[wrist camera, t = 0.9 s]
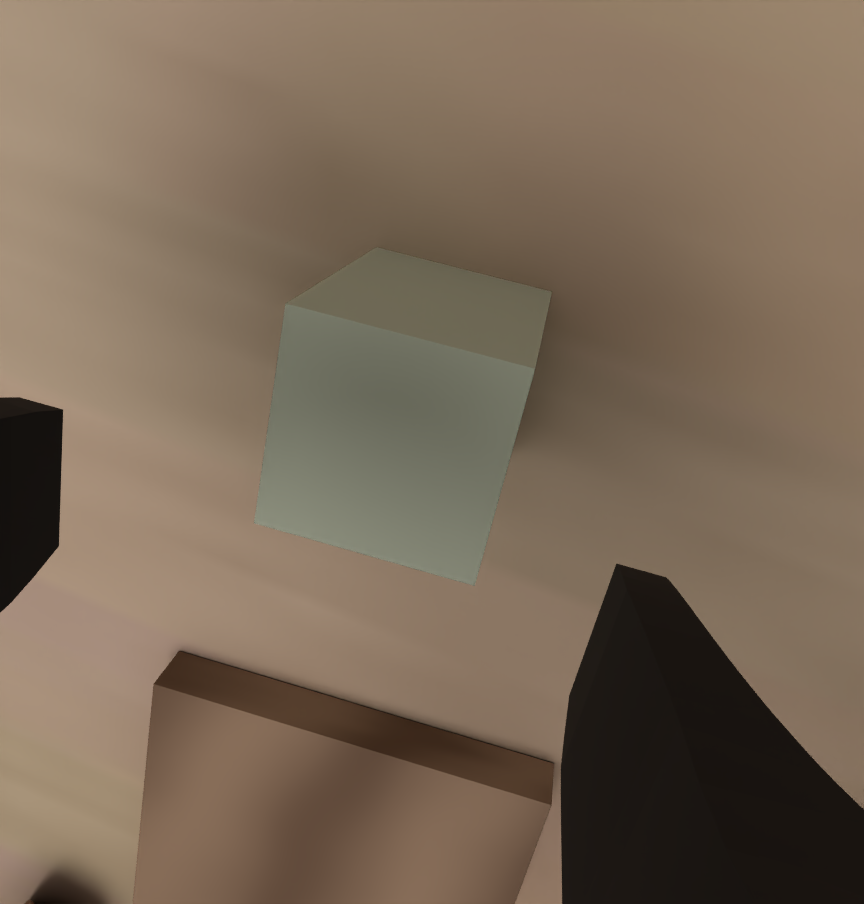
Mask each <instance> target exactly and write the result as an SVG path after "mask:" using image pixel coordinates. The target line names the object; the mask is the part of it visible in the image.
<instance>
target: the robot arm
mask: <svg viewBox="0 0 864 904" xmlns="http://www.w3.org/2000/svg"><path fill="white" fill-rule="evenodd" d="M62 426H63V410H62V409H59V408H55V407H52V406H48V405H44V404H41V403H37V402H34V401H30V400H26V399H23V398H19V397H17V398H0V612H1V611H2V610H4V609H5V608H6V607H7V606H8V605H9V604H10V603H11V602H12V601H13V600H14V599H15V597H16V596H17V595H18V594H19V593H20V592H21V591H22V590H23V588H24V587H25V586H26V585H27V584H28V583H29V582H30V581H31V579H32V578H33V577H34V576H35V575H36V573H37V572H38V571H39V570H40V569H41V567H42V566H43V565H44V564H45V562H46V561H47V560H48V559H49V557H50V556H51V555H52V554H53V553H54V551H55V550H56V549H57V548H58V546H59V522H60V490H61V458H62ZM561 845H562V904H864V810H863V809H862V808H861V807H860V806H859V805H858V804H857V803H856V802H855V801H854V800H853V799H852V798H851V797H850V796H849V795H848V794H847V793H846V792H845V791H844V790H843V789H842V788H841V787H840V786H839V785H838V784H837V783H836V782H835V781H834V780H833V779H832V778H831V777H830V776H829V775H828V774H827V773H826V772H825V771H824V770H823V769H822V768H821V767H820V766H819V765H818V764H817V763H816V761H815V760H814V759H813V758H812V757H811V756H810V755H809V754H808V753H807V752H806V751H805V749H804V748H803V747H802V746H801V745H800V744H799V743H798V742H797V740H796V739H795V738H794V737H793V736H792V735H791V734H790V732H789V731H788V730H787V729H786V728H785V727H784V726H783V725H782V723H781V722H780V721H779V720H778V719H777V718H776V717H775V715H774V714H773V713H772V712H771V711H770V710H769V708H768V707H767V706H766V705H765V704H764V702H763V701H762V700H761V699H760V698H759V696H758V695H757V694H756V693H755V691H754V690H753V689H752V688H751V687H750V685H749V684H748V683H747V682H746V680H745V679H744V678H743V677H742V675H741V674H740V673H739V671H738V670H737V669H736V668H735V666H734V665H733V664H732V662H731V661H730V660H729V659H728V657H727V656H726V655H725V653H724V652H723V651H722V649H721V648H720V647H719V645H718V644H717V643H716V641H715V640H714V639H713V637H712V636H711V635H710V633H709V632H708V631H707V629H706V628H705V627H704V625H703V624H702V623H701V621H700V620H699V619H698V617H697V616H696V615H695V613H694V612H693V610H692V609H691V608H690V606H689V605H688V604H687V602H686V601H685V600H684V598H683V597H682V596H681V594H680V593H679V592H678V591H677V589H676V588H675V587H674V586H673V584H672V583H671V582H670V581H669V580H668V579H667V578H666V577H663V576H659V575H655V574H652V573H648V572H645V571H641V570H637V569H634V568H630V567H627V566H623V565H620V564H616V567H615V569H614V572H613V575H612V578H611V581H610V583H609V586H608V589H607V592H606V595H605V597H604V600H603V603H602V606H601V609H600V611H599V614H598V617H597V620H596V623H595V625H594V628H593V631H592V634H591V637H590V639H589V642H588V645H587V648H586V651H585V653H584V656H583V659H582V662H581V664H580V667H579V670H578V673H577V676H576V678H575V681H574V684H573V687H572V690H571V692H570V695H569V703H568V711H567V719H566V727H565V735H564V744H563V753H562V762H561Z"/></svg>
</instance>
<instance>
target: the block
mask: <svg viewBox="0 0 864 904" xmlns="http://www.w3.org/2000/svg"><path fill="white" fill-rule="evenodd" d="M551 295H552V291H548V290H544V289H540V288H536V287H532V286H528V285H524V284H520V283H516V282H512V281H508V280H504V279H500V278H496V277H492V276H489V275H485V274H481V273H477V272H473V271H469V270H465V269H461V268H457V267H453V266H449V265H445V264H441V263H437V262H433V261H429V260H426V259H422V258H418V257H414V256H410V255H406V254H402V253H398V252H394V251H390V250H386V249H382V248H378V247H376V248H374V249H373V250H371V251H369V252H368V253H366V254H365V255H363V256H361V257H360V258H358V259H357V260H355V261H353V262H352V263H350V264H348V265H347V266H345V267H344V268H342V269H340V270H339V271H337V272H336V273H334V274H332V275H331V276H329V277H327V278H326V279H324V280H323V281H321V282H319V283H318V284H316V285H315V286H313V287H311V288H310V289H308V290H306V291H305V292H303V293H302V294H300V295H298V296H297V297H295V298H294V299H292V300H290V301H289V302H287V303H286V304H285V311H284V318H283V325H282V332H281V339H280V346H279V353H278V360H277V367H276V374H275V381H274V388H273V395H272V402H271V409H270V416H269V423H268V430H267V437H266V443H265V450H264V457H263V464H262V471H261V478H260V485H259V492H258V499H257V506H256V513H255V520H254V523H255V524H259V525H262V526H266V527H269V528H273V529H276V530H280V531H283V532H287V533H290V534H294V535H297V536H301V537H304V538H308V539H311V540H315V541H318V542H322V543H325V544H329V545H332V546H336V547H339V548H343V549H347V550H350V551H354V552H357V553H361V554H364V555H368V556H371V557H375V558H378V559H382V560H385V561H389V562H392V563H396V564H399V565H403V566H406V567H410V568H413V569H417V570H420V571H424V572H427V573H431V574H434V575H438V576H441V577H445V578H448V579H452V580H455V581H459V582H463V583H466V584H470V585H473V586H475V582H476V579H477V575H478V572H479V568H480V564H481V561H482V557H483V554H484V550H485V547H486V543H487V539H488V536H489V532H490V529H491V525H492V522H493V518H494V514H495V511H496V507H497V504H498V500H499V496H500V493H501V489H502V486H503V482H504V479H505V475H506V471H507V468H508V464H509V461H510V457H511V454H512V450H513V446H514V443H515V439H516V436H517V432H518V428H519V425H520V421H521V418H522V414H523V411H524V407H525V403H526V400H527V396H528V393H529V389H530V386H531V382H532V378H533V375H534V371H535V367H536V363H537V358H538V354H539V349H540V345H541V340H542V336H543V331H544V326H545V322H546V317H547V313H548V308H549V304H550V299H551Z"/></svg>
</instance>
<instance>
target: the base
mask: <svg viewBox="0 0 864 904" xmlns="http://www.w3.org/2000/svg"><path fill="white" fill-rule="evenodd" d="M553 770H554V764H553V763H550V762H547V761H543V760H540V759H537V758H533V757H530V756H527V755H523V754H520V753H517V752H513V751H510V750H507V749H503V748H500V747H497V746H493V745H490V744H487V743H483V742H480V741H477V740H473V739H470V738H467V737H463V736H460V735H457V734H453V733H450V732H447V731H443V730H440V729H437V728H433V727H430V726H427V725H423V724H420V723H417V722H414V721H410V720H407V719H404V718H400V717H397V716H394V715H390V714H387V713H384V712H380V711H377V710H374V709H370V708H367V707H364V706H360V705H357V704H354V703H350V702H347V701H344V700H340V699H337V698H334V697H330V696H327V695H324V694H320V693H317V692H314V691H310V690H307V689H304V688H300V687H297V686H294V685H290V684H287V683H284V682H280V681H277V680H274V679H271V678H267V677H264V676H261V675H257V674H254V673H251V672H247V671H244V670H241V669H237V668H234V667H231V666H227V665H224V664H221V663H217V662H214V661H211V660H207V659H204V658H201V657H197V656H194V655H191V654H187V653H184V652H181V651H179V652H178V653H177V654H176V656H175V657H174V658H173V660H172V661H171V662H170V663H169V665H168V666H167V667H166V669H165V670H164V671H163V673H162V674H161V675H160V676H159V678H158V679H157V680H156V682H155V683H154V686H153V696H152V707H151V718H150V728H149V739H148V749H147V760H146V770H145V781H144V791H143V802H142V812H141V823H140V833H139V844H138V855H137V865H136V876H135V886H134V897H133V904H515V901H516V899H517V896H518V893H519V891H520V888H521V885H522V883H523V880H524V877H525V875H526V872H527V869H528V866H529V864H530V861H531V858H532V856H533V853H534V850H535V848H536V845H537V842H538V840H539V837H540V834H541V832H542V829H543V826H544V824H545V821H546V818H547V816H548V813H549V810H550V808H551V804H552V787H553Z"/></svg>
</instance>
